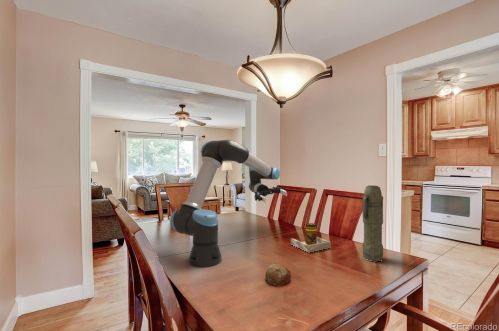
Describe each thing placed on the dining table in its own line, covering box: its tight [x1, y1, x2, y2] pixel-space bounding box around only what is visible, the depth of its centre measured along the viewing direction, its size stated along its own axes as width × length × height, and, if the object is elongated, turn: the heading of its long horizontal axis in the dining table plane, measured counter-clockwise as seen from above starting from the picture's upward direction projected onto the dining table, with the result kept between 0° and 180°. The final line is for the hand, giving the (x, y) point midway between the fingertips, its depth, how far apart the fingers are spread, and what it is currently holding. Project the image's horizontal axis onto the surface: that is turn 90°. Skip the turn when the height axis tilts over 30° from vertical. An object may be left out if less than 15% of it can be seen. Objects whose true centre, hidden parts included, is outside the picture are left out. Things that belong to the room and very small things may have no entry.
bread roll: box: [264, 263, 292, 286], centre depth 102 cm, size 10×10×8 cm
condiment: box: [304, 222, 318, 245], centre depth 142 cm, size 7×8×12 cm
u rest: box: [290, 236, 331, 254], centre depth 142 cm, size 15×15×4 cm
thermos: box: [361, 185, 384, 261], centre depth 124 cm, size 9×12×35 cm
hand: (275, 196), depth 149 cm, fingers open, 13 cm apart
